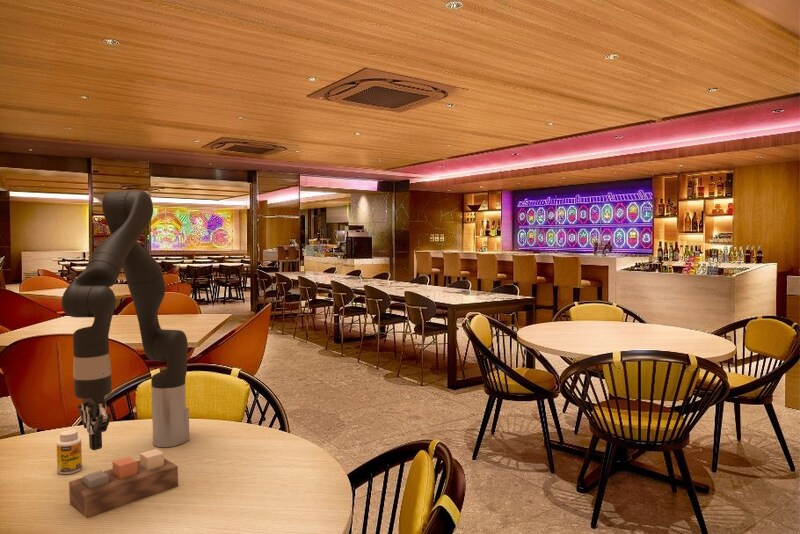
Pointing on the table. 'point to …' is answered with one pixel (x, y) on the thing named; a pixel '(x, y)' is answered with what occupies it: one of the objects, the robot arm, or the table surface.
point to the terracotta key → (124, 467)
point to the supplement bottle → (69, 452)
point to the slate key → (95, 479)
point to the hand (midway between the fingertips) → (95, 448)
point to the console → (122, 489)
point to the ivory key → (151, 459)
